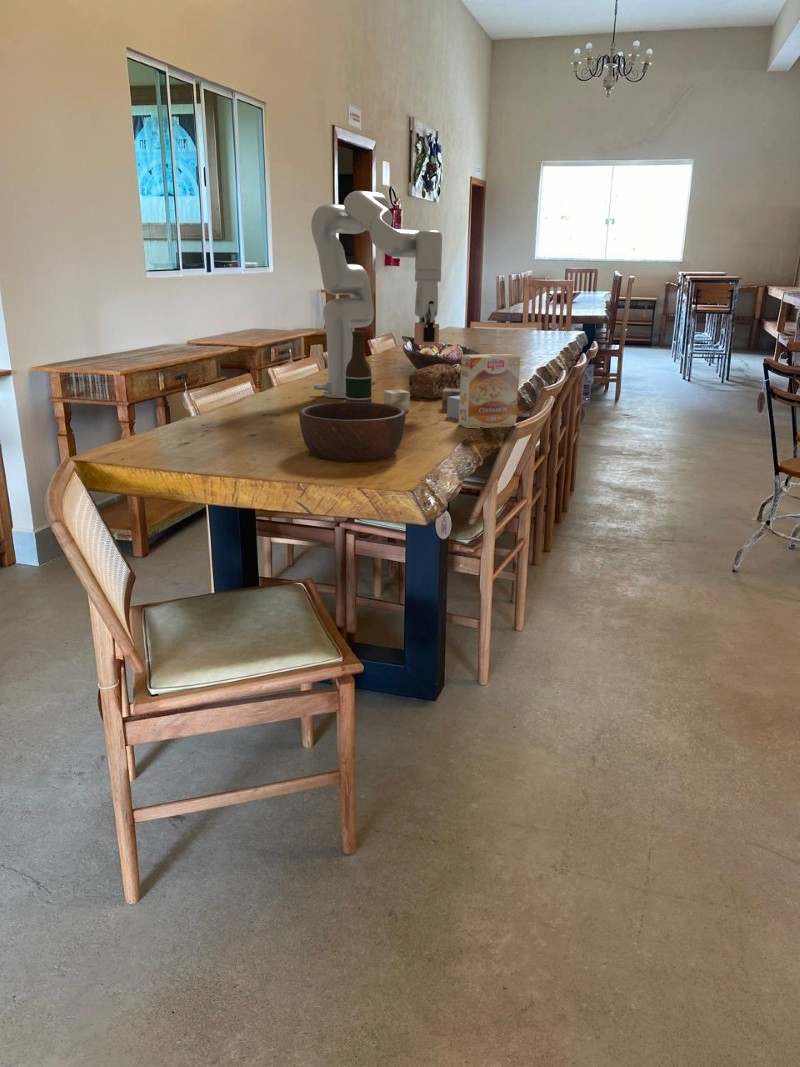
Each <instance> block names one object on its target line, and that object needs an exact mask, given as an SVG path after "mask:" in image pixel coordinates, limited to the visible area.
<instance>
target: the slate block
mask: <svg viewBox="0 0 800 1067" xmlns="http://www.w3.org/2000/svg"><path fill="white" fill-rule="evenodd" d="M459 405H460V396H451V397H448V401H447V411H446V417H447V416H448V417H447V418H450V417H452V418H451V419H454V418H456V419H455V420H458V419H459Z"/></svg>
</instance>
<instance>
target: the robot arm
mask: <svg viewBox="0 0 800 1067" xmlns="http://www.w3.org/2000/svg"><path fill="white" fill-rule="evenodd" d="M393 219H394V218H393V214H392V212H391V210H390V204H389V200H388V199H387V198H386V196H385V195H384V194H382V193H381V192H378V191H377V192H375V191H367V190H366V191H365V190H355V191H352V192H350V193H348V195H346V197H345V198H344V201H343V204H337V203H328V204H323V205H321V206H319V207H317V208H316V209H315V210H314V212H313V214H312V217H311V224H310V225H311V227H310V229H311V233H312V238H313V241H314V244H315V246H316V251H317V253H318V254H317V255H318V261H319V268H320V272H321V279H322V284H323V287H324V290H325V291H326V293H328V294H330V295H342V296H343V295H344V296H345V295H349V297H340V298H339V297H337V298H333V299H330V300H328V301H327V302H326V304H325V305H324V307H323V312H322V314H323V320H324V325H325V332H326V349H327V350H326V353H327V354H326V355H327V357H326V358H327V360H326V361H327V380H326V381H325V382H324V383H322V384H321V383H317V384H316V383H314V384H313V390H314V391H323V396H324V397H326V398H330V399H331V398H333V399H346V368H347V365H348V363H349V361H350V360H351V357H352V345H353V335H352V332H353V331H352V330H351V329H354V328H355V329H356V328H357V329H358V328H365V327H368V326H370V325H371V323H372V322H373V319H374V317H375V316H374V315H375V314H374V313H375V311H374V309H375V308H374V302H373V296H372V288H371V284H370V283H371V282H370V278H369V275H368V272H367V270H366V269H365V268H364V267H363V266H362V265H360V264H356V263H349V264H348V263H347V260H346V254H345V249H344V246H343V244H342V243H341V241H340V240H339V238H338V237H337V236H336V234H348V235H349V234H350V235H356V234H358V235H359V234H362V233H363V232H366V231H368V232H369V237H370V240H371V241H372V244H373V245H374V246H375V247H376V248H377V249H379V251H381V252H382V253H383V254H385V255H387V256H389V257H392V258H411V259H412V258H413V259H415V260H414V262H415V264H414V282H416V290H415V301H414V302H415V304H414V314H415V316H416V317H418V319H419V320H418V323H425V328H424V338H423V341H424V342H434V341H435V323H436V320H435V318H436V317H438V312H439V311H438V309H439V287H438V284H439V283H441V282H442V252H443V234H442V232H441V231H438V230H429V229H428V230H427V229H426V230H417V229H416V230H414V229H396V228H394V227H392V224H393Z"/></svg>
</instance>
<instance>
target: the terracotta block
mask: <svg viewBox="0 0 800 1067" xmlns="http://www.w3.org/2000/svg"><path fill="white" fill-rule="evenodd" d="M424 328H425V323H419V322H414V331H413V332H414V337H413V338H414V339H413V340H414V342H413V344H415V345H417V346H439V342H440V324H439V323H437V322H435V341H434V342H424V341H423V338H424Z"/></svg>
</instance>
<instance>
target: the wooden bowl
mask: <svg viewBox="0 0 800 1067" xmlns="http://www.w3.org/2000/svg"><path fill="white" fill-rule="evenodd" d="M406 414H407V412H405V411H404V410H403V409H402V408H399V407H396V406H393V405H387V404H384V403H381V402H380V403H378V402H371V403H369V402H346V401H340V402H339V401H336V402H326V403H325V402H324V403H319V404H318V403H316V404H311V405H308V406H304V407H303V408H301V409H300V410H299V412H298V417H299V424H300V430H301V434H302V439H303V442H304V444H305V446H306V448H307V450H308V451H309V452H310V454H312V456H314V457H315V456H316V458H318V459H321V460H326V461H330V462H331V461H332V462H340V463H341V462H344V463H360V462H363V463H365V462H374V461H379V460H385V459H388V458H389V457H392V456H393V455H394V454H395V452H396V451H397V450H398V448H399V446H400V444H401V442H402V439H403V435H404V430H405V424H406V416H407V415H406Z"/></svg>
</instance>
